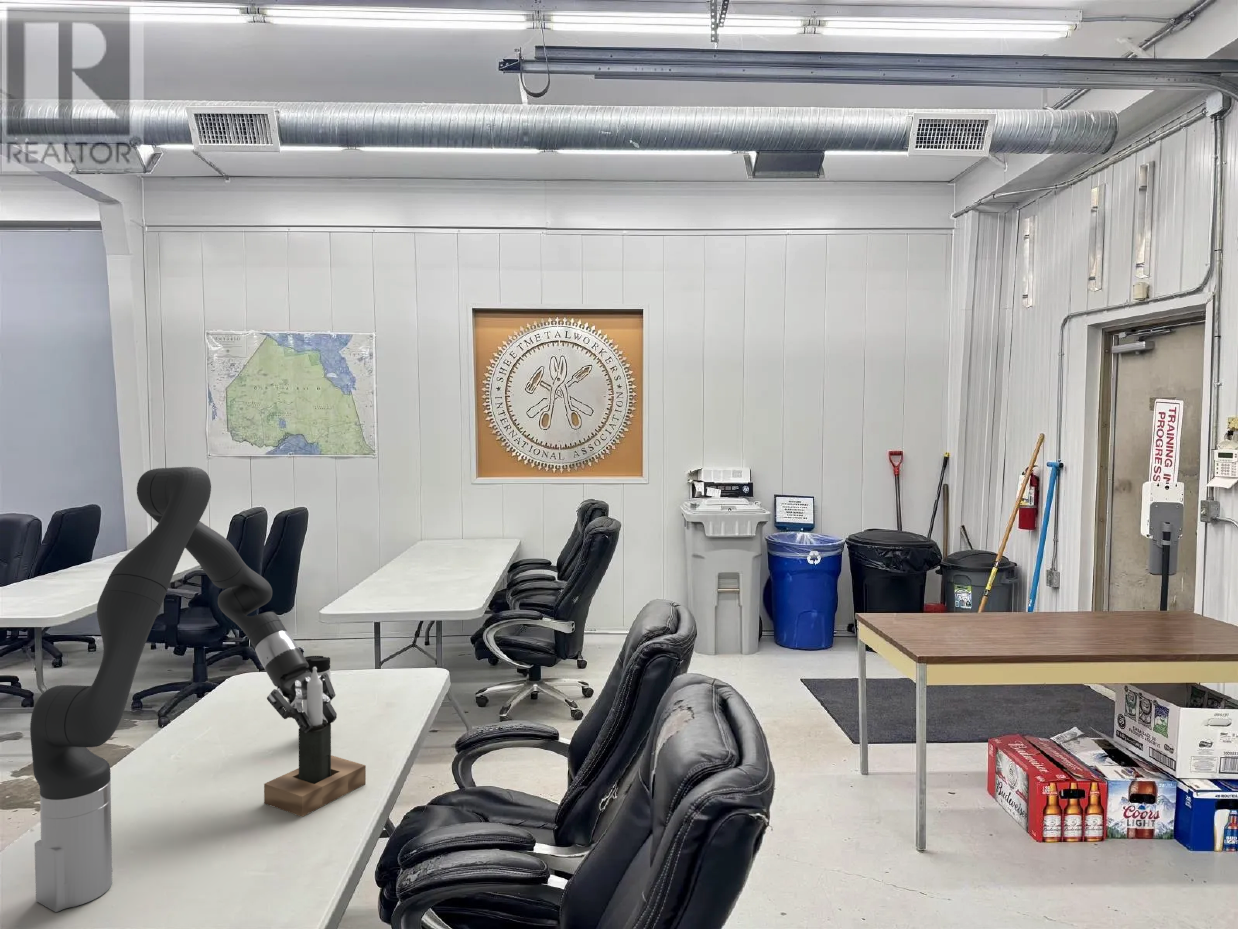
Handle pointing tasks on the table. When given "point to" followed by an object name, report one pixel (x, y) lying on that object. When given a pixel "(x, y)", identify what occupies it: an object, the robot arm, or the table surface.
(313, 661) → the travel mug
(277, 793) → the socket block
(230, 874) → the table surface
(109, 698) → the robot arm
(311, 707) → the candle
